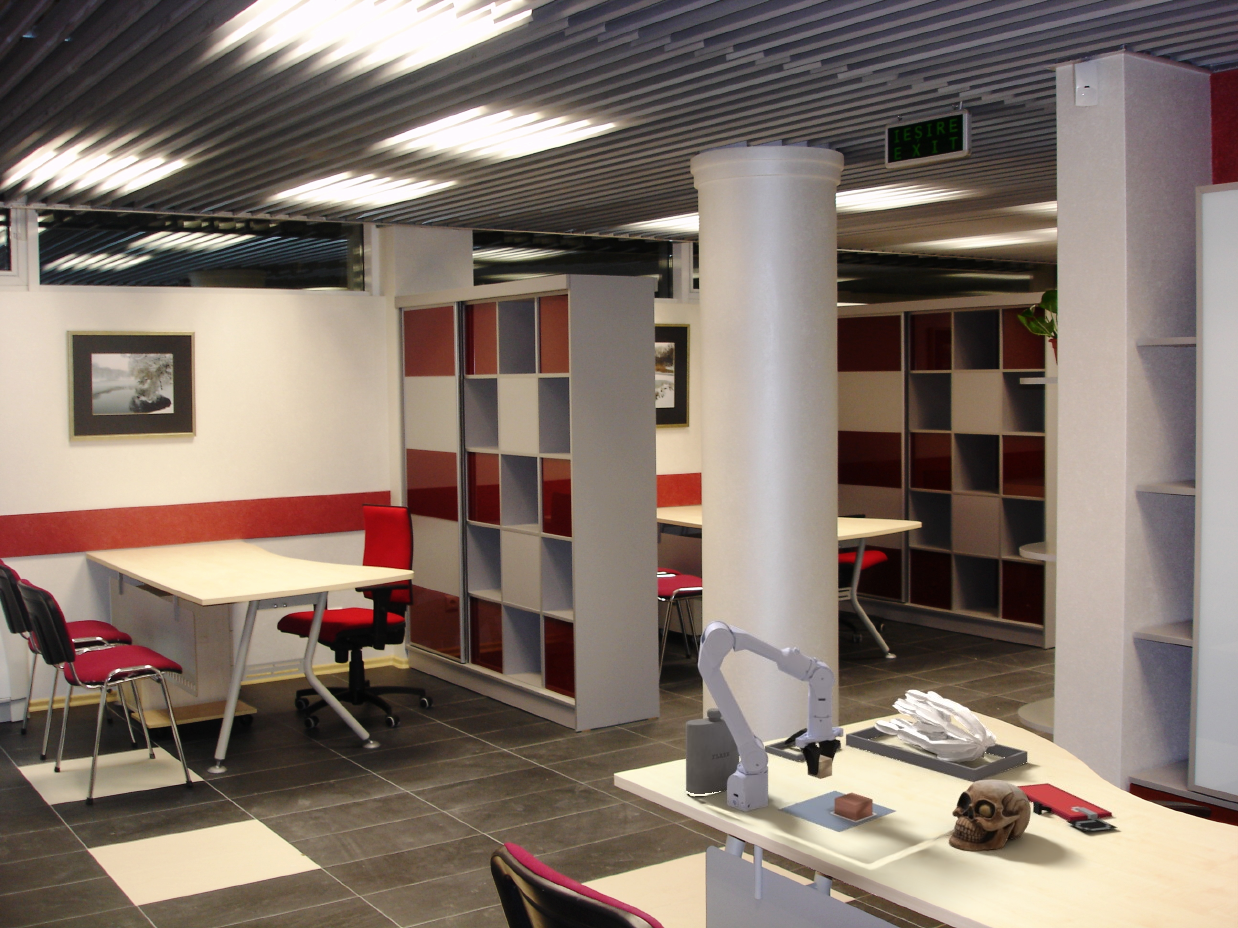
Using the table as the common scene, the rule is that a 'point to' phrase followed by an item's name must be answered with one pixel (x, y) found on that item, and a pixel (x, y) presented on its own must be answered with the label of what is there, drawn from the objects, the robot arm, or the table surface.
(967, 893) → the table surface
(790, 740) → the power plug
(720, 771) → the flask
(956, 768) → the grey tray
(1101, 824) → the red board with handle
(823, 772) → the maple cube
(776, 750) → the frame
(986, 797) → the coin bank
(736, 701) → the robot arm
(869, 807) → the base block
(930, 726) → the white sculpture
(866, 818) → the board
